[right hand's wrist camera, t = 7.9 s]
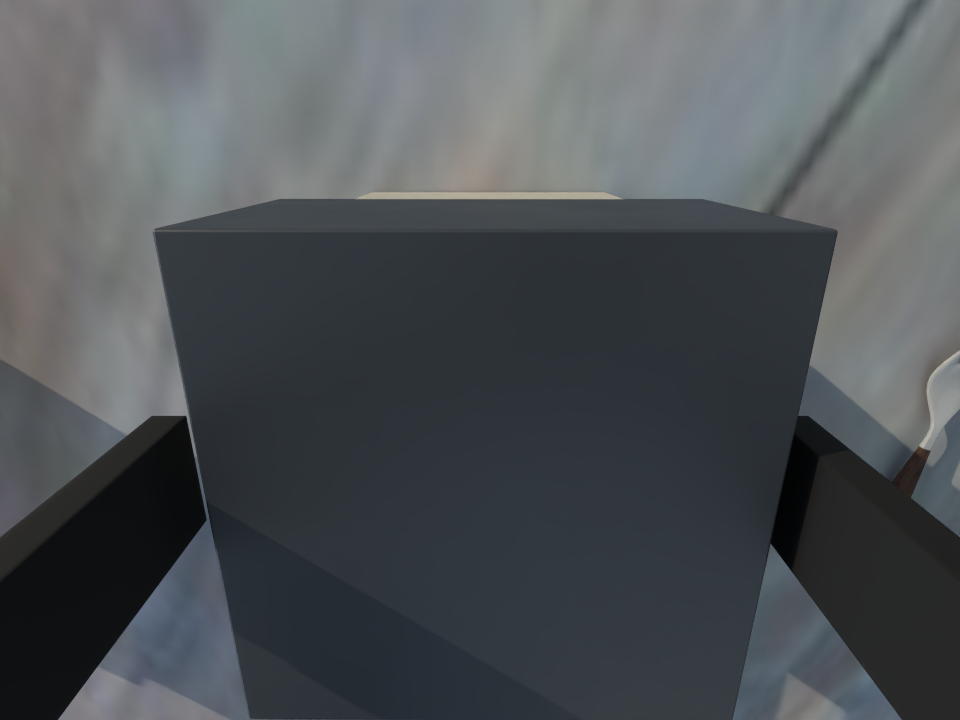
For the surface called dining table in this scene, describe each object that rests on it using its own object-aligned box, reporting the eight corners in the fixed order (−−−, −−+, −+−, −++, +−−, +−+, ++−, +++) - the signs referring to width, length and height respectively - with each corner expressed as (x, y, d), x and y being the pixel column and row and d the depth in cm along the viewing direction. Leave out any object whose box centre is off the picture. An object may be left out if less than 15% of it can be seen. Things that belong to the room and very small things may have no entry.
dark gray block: (703, 199, 15) (839, 230, 9) (657, 549, 18) (732, 724, 13) (278, 198, 15) (150, 229, 9) (320, 547, 19) (248, 719, 13)
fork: (813, 581, 31) (834, 609, 29) (966, 306, 26) (1004, 319, 24) (858, 590, 31) (881, 618, 29) (1018, 319, 26) (1060, 333, 24)
